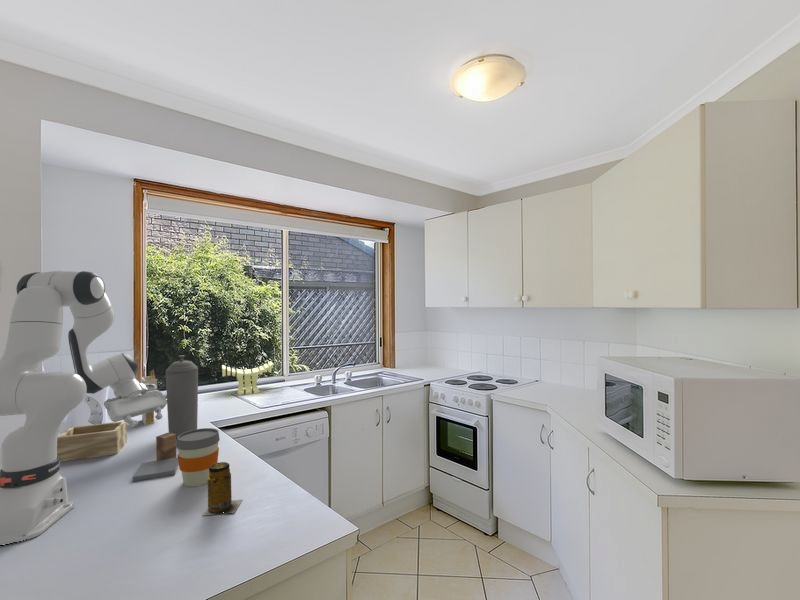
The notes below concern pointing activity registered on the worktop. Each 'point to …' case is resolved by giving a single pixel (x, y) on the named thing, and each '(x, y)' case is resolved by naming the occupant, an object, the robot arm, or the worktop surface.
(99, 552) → the worktop surface
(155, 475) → the slate coaster
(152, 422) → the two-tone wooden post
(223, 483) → the condiment
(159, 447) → the walnut block
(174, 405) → the canister
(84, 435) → the bamboo organizer
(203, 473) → the reusable coffee cup
